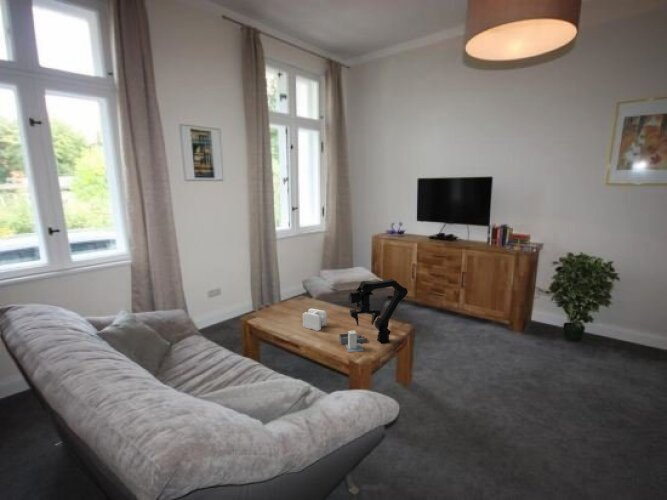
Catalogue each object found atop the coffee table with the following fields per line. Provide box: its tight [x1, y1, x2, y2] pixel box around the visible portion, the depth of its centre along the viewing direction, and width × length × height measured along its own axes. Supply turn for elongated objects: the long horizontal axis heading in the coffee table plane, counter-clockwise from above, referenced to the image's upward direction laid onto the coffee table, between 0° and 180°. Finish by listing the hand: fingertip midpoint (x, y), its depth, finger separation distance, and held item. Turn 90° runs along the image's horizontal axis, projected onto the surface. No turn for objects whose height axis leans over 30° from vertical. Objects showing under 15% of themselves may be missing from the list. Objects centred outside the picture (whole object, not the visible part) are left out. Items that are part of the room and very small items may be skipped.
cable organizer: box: [302, 308, 328, 332], centre depth 248 cm, size 15×11×12 cm
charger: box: [347, 329, 358, 349], centre depth 218 cm, size 4×4×10 cm
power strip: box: [338, 333, 367, 346], centre depth 227 cm, size 16×7×4 cm, turn 100°
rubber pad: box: [344, 343, 365, 353], centre depth 219 cm, size 10×10×1 cm
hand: (364, 325), depth 220 cm, fingers open, 9 cm apart
